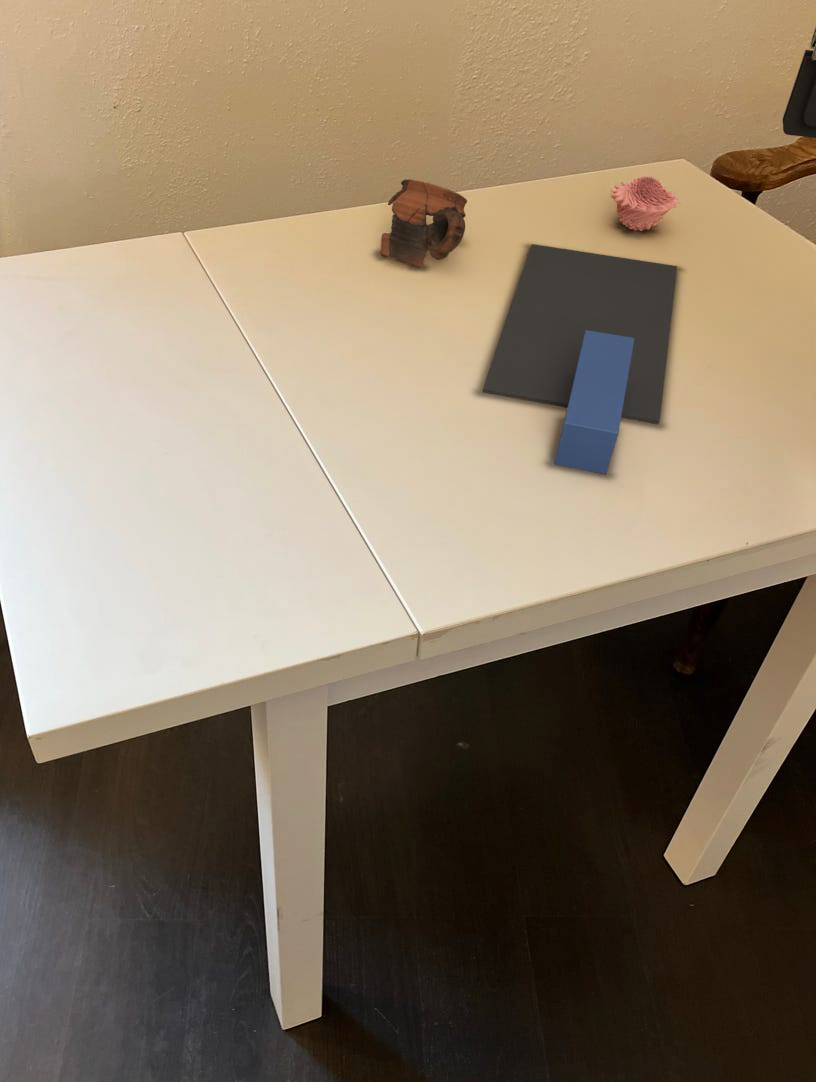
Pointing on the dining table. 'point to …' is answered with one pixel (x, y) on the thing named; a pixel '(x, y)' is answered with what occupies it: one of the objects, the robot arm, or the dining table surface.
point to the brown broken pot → (424, 223)
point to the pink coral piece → (643, 202)
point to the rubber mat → (584, 326)
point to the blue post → (595, 402)
